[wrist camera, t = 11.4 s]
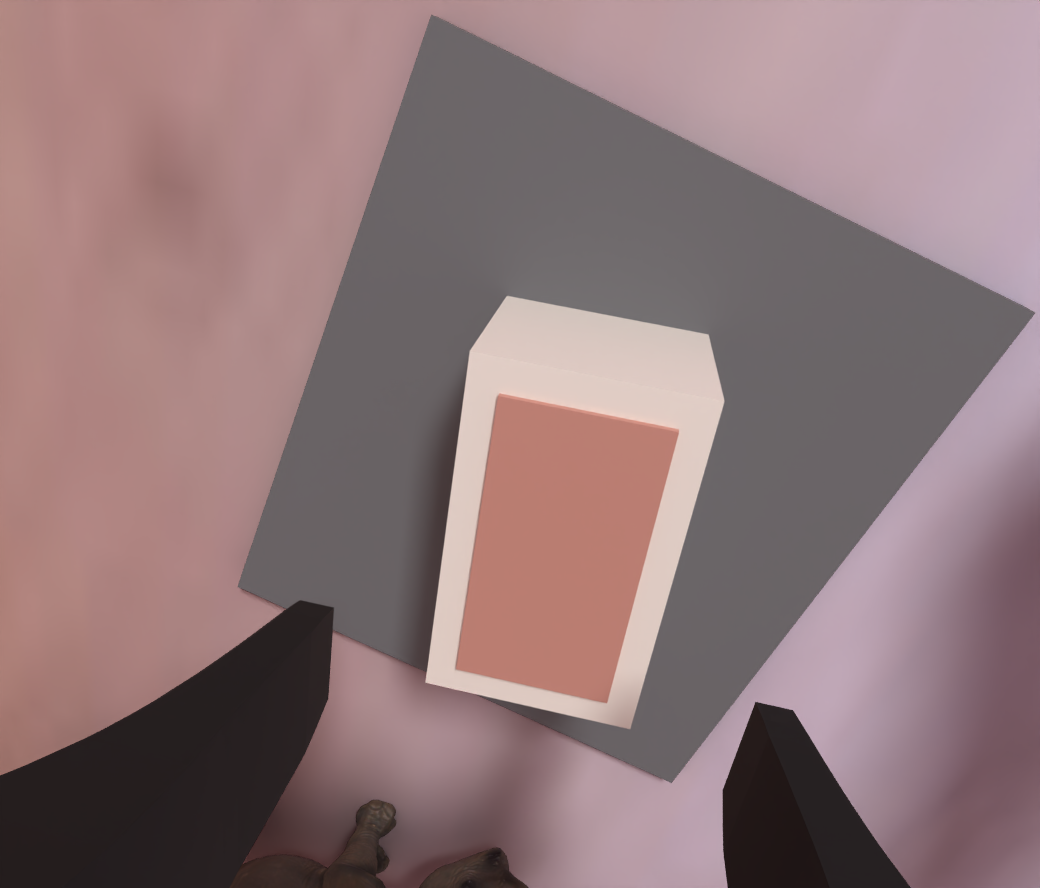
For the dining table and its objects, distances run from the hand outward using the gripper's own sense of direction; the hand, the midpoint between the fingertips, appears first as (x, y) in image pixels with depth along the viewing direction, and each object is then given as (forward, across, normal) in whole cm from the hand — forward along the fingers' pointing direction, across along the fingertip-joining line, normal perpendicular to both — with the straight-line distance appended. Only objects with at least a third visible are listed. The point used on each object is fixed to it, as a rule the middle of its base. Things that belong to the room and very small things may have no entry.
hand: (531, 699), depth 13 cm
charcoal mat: (+9, 0, 0) cm, 9 cm away
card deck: (+9, 0, 0) cm, 9 cm away
